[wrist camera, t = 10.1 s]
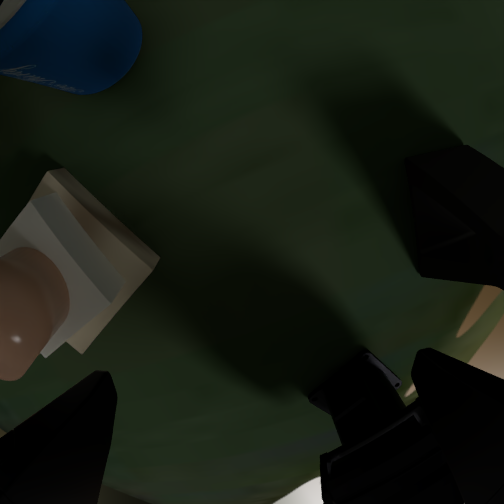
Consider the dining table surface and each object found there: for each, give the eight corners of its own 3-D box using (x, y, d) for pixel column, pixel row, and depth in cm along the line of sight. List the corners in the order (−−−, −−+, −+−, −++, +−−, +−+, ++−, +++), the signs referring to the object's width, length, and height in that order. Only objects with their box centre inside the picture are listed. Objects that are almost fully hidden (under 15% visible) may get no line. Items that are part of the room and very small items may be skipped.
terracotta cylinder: (84, 288, 15) (41, 339, 10) (50, 345, 16) (14, 397, 11) (17, 227, 14) (-40, 257, 9) (-9, 291, 15) (-56, 329, 10)
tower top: (126, 281, 18) (111, 303, 16) (62, 334, 19) (45, 358, 16) (56, 191, 16) (30, 200, 14) (1, 258, 17) (-23, 273, 14)
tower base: (162, 254, 21) (153, 270, 18) (95, 333, 23) (82, 354, 20) (69, 166, 19) (47, 170, 16) (14, 257, 20) (-6, 271, 17)
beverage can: (49, 98, 16) (-83, 79, 5) (68, 13, 15) (-33, -55, 3) (135, 96, 17) (27, 45, 6) (154, 6, 15) (92, -105, 4)
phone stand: (473, 252, 22) (577, 316, 11) (418, 275, 22) (522, 361, 11) (464, 144, 19) (593, 163, 8) (403, 157, 20) (542, 182, 8)
